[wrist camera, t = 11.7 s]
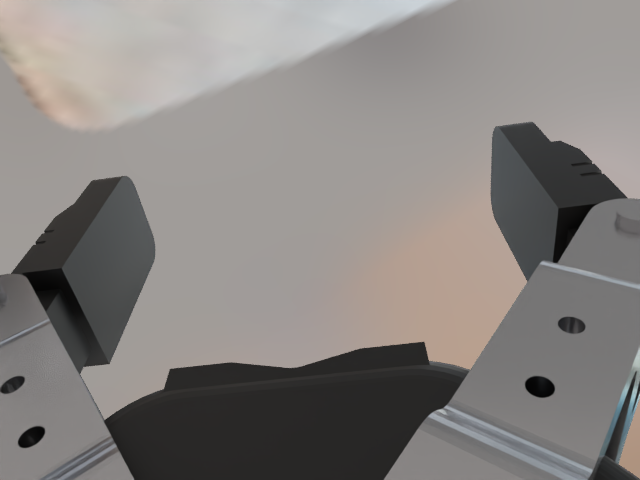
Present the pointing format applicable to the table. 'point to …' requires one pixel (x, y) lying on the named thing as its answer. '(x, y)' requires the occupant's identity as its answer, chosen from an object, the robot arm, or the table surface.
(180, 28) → the table surface
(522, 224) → the robot arm
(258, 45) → the table surface
